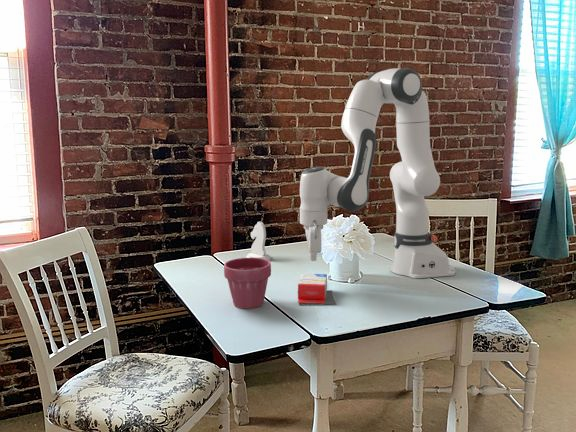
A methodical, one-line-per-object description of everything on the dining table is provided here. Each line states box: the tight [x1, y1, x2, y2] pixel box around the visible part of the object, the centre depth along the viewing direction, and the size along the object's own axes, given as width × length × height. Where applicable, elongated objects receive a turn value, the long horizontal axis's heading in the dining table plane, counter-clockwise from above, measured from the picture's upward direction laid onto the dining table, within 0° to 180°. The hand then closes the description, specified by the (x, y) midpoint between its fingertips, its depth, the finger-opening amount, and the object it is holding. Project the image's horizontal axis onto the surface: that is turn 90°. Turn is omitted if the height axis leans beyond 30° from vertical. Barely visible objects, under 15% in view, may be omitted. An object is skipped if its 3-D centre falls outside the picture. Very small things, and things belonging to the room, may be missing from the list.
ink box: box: [297, 273, 328, 304], centre depth 179 cm, size 8×5×15 cm
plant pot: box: [223, 257, 272, 309], centre depth 173 cm, size 14×14×13 cm
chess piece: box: [245, 221, 272, 261], centre depth 221 cm, size 10×10×15 cm
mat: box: [298, 289, 337, 306], centre depth 178 cm, size 11×12×1 cm
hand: (313, 259), depth 185 cm, fingers closed
